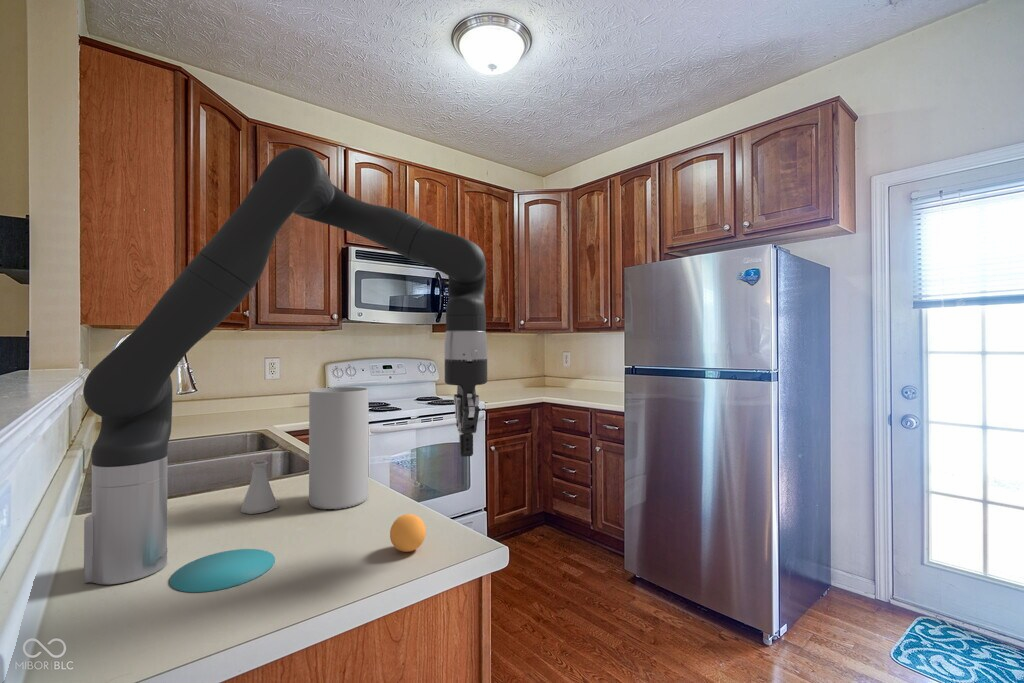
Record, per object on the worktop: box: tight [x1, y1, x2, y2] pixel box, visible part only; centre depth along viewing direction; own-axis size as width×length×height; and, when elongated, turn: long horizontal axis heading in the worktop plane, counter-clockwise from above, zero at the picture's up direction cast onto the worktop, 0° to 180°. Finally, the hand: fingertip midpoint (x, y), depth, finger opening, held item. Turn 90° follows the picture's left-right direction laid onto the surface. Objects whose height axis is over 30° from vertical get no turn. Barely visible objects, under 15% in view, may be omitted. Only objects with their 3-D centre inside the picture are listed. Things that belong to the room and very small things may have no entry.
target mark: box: [169, 548, 276, 593], centre depth 75 cm, size 14×14×1 cm
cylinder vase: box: [308, 386, 370, 510], centre depth 108 cm, size 12×12×25 cm
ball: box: [389, 513, 427, 553], centre depth 82 cm, size 6×6×6 cm
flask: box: [240, 460, 279, 515], centre depth 103 cm, size 7×7×10 cm
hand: (466, 455), depth 84 cm, fingers closed
